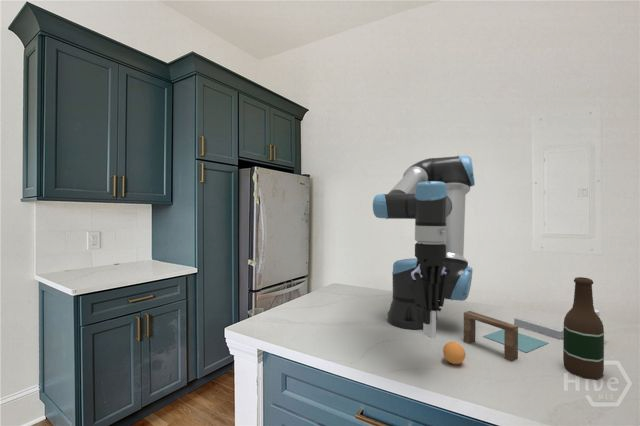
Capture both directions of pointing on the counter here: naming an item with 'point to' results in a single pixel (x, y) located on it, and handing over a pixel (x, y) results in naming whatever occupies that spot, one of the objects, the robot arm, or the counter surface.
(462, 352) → the ball
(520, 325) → the wall
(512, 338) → the bridge
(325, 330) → the counter surface
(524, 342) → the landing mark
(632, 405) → the counter surface
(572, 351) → the beer bottle
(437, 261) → the robot arm
